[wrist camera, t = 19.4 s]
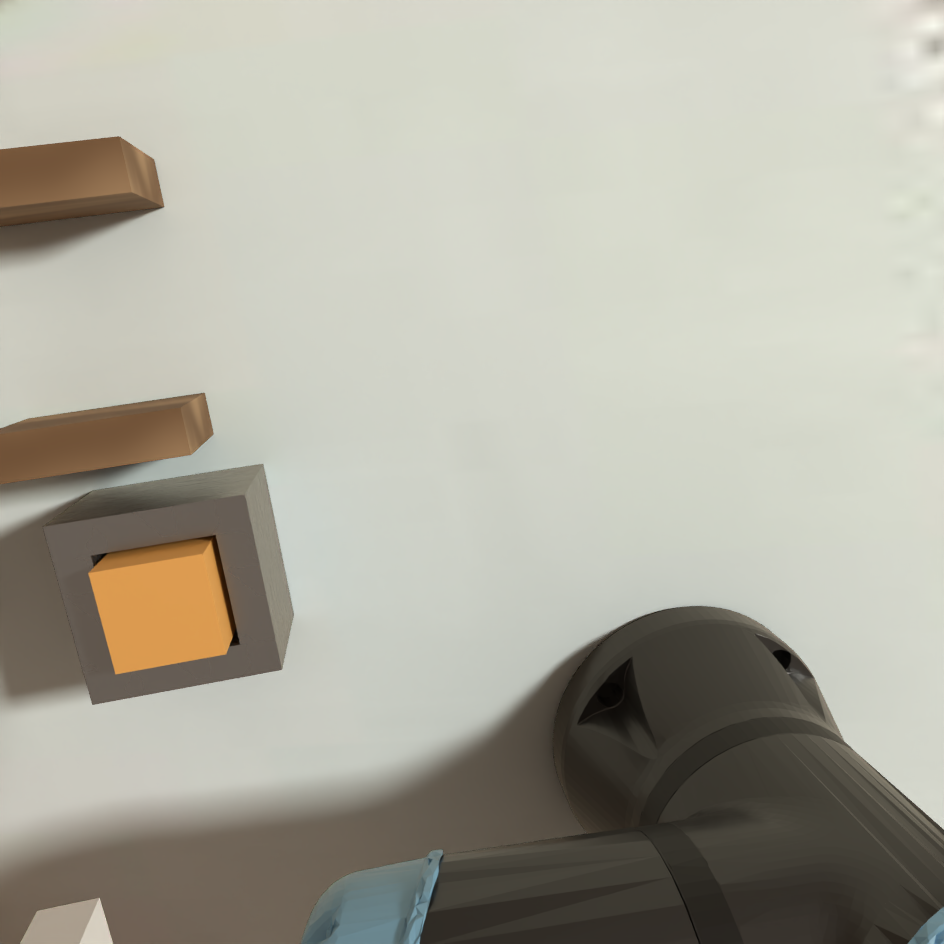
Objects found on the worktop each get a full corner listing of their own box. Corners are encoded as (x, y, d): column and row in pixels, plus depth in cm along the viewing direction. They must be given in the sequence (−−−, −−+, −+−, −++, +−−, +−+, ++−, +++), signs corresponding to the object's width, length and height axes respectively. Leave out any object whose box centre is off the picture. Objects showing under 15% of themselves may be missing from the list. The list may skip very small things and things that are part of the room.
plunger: (247, 598, 37) (226, 654, 31) (154, 614, 37) (115, 674, 31) (228, 512, 36) (203, 553, 30) (132, 528, 36) (88, 573, 30)
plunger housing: (293, 614, 39) (282, 669, 33) (133, 643, 38) (92, 704, 33) (263, 463, 37) (245, 494, 31) (93, 490, 36) (42, 526, 31)
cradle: (213, 433, 37) (191, 454, 32) (39, 460, 36) (-11, 485, 31) (153, 159, 34) (119, 136, 29) (-38, 181, 33) (-107, 160, 28)
